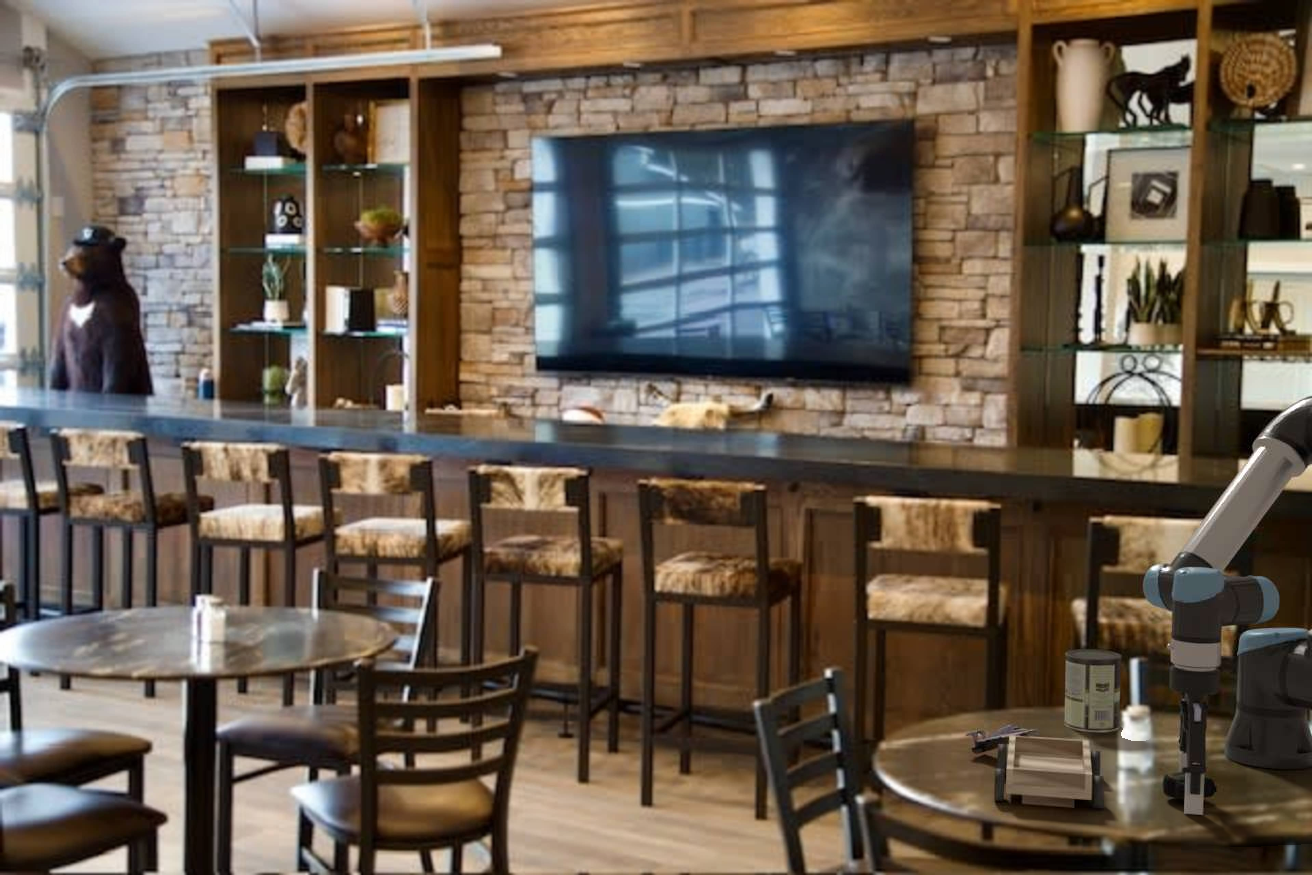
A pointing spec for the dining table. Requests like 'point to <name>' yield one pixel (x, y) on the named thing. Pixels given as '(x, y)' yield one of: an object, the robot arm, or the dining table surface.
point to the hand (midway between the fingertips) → (1190, 802)
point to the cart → (1049, 771)
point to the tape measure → (1176, 785)
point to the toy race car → (997, 738)
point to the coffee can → (1092, 690)
